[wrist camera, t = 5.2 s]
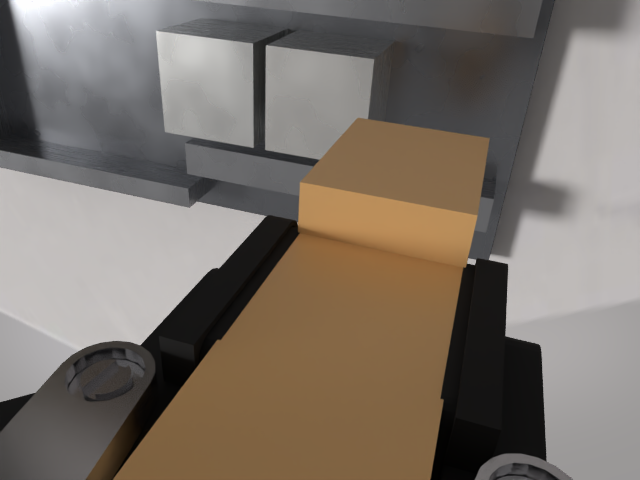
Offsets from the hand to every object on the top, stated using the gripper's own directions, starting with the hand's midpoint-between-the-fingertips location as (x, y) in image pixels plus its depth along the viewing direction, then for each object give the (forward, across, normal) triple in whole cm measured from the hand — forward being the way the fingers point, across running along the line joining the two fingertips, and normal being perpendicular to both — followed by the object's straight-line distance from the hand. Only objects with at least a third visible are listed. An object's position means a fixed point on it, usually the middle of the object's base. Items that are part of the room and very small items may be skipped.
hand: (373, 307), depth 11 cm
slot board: (+15, +11, 0) cm, 18 cm away
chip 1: (+14, +9, 0) cm, 17 cm away
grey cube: (+14, +5, 0) cm, 15 cm away
